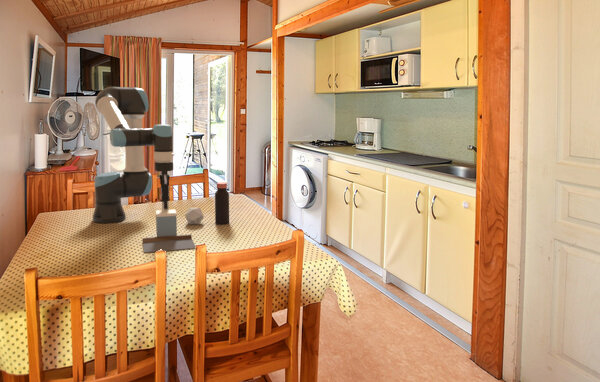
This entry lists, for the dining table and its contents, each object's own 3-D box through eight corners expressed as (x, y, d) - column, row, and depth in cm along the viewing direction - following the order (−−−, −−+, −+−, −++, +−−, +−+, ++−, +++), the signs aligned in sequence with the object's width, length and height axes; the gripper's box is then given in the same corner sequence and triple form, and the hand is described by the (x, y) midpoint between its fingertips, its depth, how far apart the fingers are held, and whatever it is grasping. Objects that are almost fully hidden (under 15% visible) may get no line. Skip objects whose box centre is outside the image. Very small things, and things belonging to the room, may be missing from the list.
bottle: (222, 225, 225) (222, 184, 221) (212, 223, 228) (211, 183, 225) (232, 222, 231) (231, 182, 227) (221, 220, 234) (221, 181, 231)
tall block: (156, 236, 202) (155, 210, 199) (175, 235, 205) (175, 209, 202) (157, 241, 198) (156, 214, 194) (177, 239, 200) (176, 213, 197)
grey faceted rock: (194, 228, 222) (205, 211, 224) (179, 218, 223) (191, 201, 224) (197, 229, 230) (208, 213, 232) (183, 220, 231) (194, 204, 232)
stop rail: (142, 242, 195) (142, 237, 195) (191, 238, 202) (191, 234, 202) (142, 243, 194) (142, 238, 194) (191, 239, 201) (191, 234, 201)
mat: (142, 243, 194) (142, 242, 194) (191, 239, 201) (191, 238, 201) (144, 253, 181) (143, 252, 181) (196, 248, 188) (196, 247, 188)
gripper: (174, 162, 193) (176, 218, 197) (171, 159, 205) (173, 212, 209) (155, 163, 190) (157, 219, 195) (153, 159, 202) (155, 213, 207)
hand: (165, 215), depth 202 cm, fingers closed
